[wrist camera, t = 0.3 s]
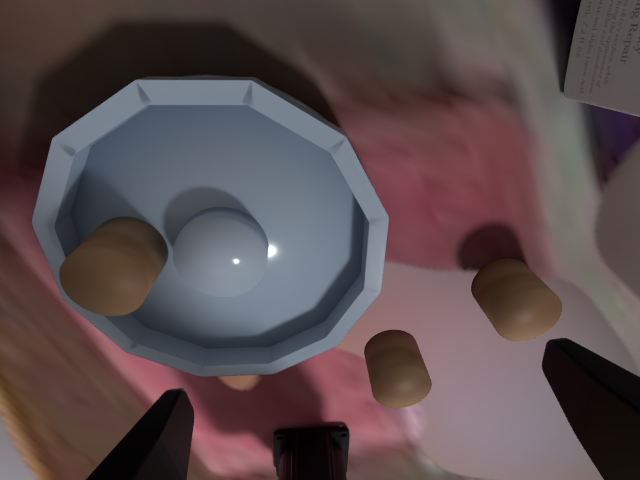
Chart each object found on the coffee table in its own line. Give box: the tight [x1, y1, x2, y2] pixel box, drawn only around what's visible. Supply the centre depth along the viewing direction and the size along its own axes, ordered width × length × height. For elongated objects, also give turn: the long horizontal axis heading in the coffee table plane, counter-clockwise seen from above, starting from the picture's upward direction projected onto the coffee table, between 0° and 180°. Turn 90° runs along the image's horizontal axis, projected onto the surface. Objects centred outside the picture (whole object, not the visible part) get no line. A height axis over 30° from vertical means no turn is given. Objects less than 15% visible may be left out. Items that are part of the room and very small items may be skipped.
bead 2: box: [364, 330, 432, 408], centre depth 26 cm, size 4×4×4 cm
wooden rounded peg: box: [59, 217, 168, 316], centre depth 19 cm, size 4×4×4 cm
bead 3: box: [471, 258, 562, 341], centre depth 24 cm, size 4×4×4 cm
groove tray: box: [31, 74, 389, 377], centre depth 21 cm, size 18×18×3 cm
